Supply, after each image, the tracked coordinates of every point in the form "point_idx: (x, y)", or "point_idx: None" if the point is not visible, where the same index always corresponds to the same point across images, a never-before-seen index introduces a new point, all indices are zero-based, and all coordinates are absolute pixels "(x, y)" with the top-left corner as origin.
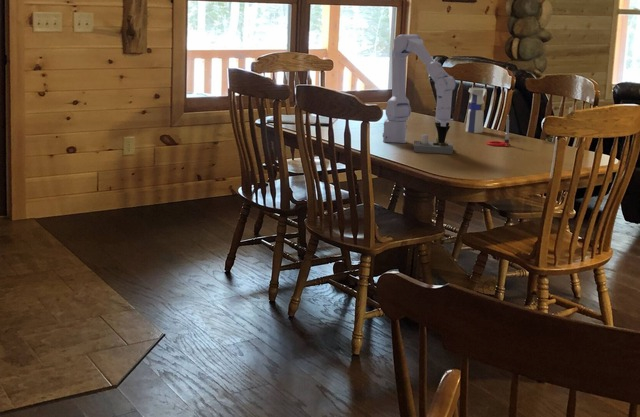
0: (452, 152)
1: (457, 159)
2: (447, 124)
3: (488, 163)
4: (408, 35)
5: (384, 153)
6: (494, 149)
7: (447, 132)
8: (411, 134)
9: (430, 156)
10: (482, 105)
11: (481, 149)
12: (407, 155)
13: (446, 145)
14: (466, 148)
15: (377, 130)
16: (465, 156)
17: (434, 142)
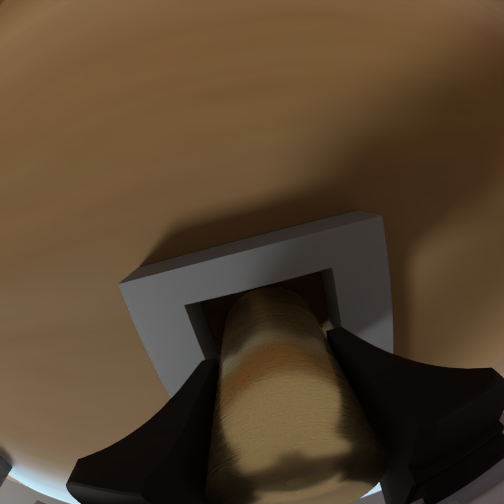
0: (363, 213)
1: (486, 160)
2: (163, 492)
3: (470, 18)
4: None
5: None
6: (42, 26)
7: (288, 385)
8: (6, 437)
9: (464, 318)
10: None
11: (59, 71)
12: None
13: (265, 302)
14: (63, 166)
15: (49, 494)
16: (393, 108)
17: None
